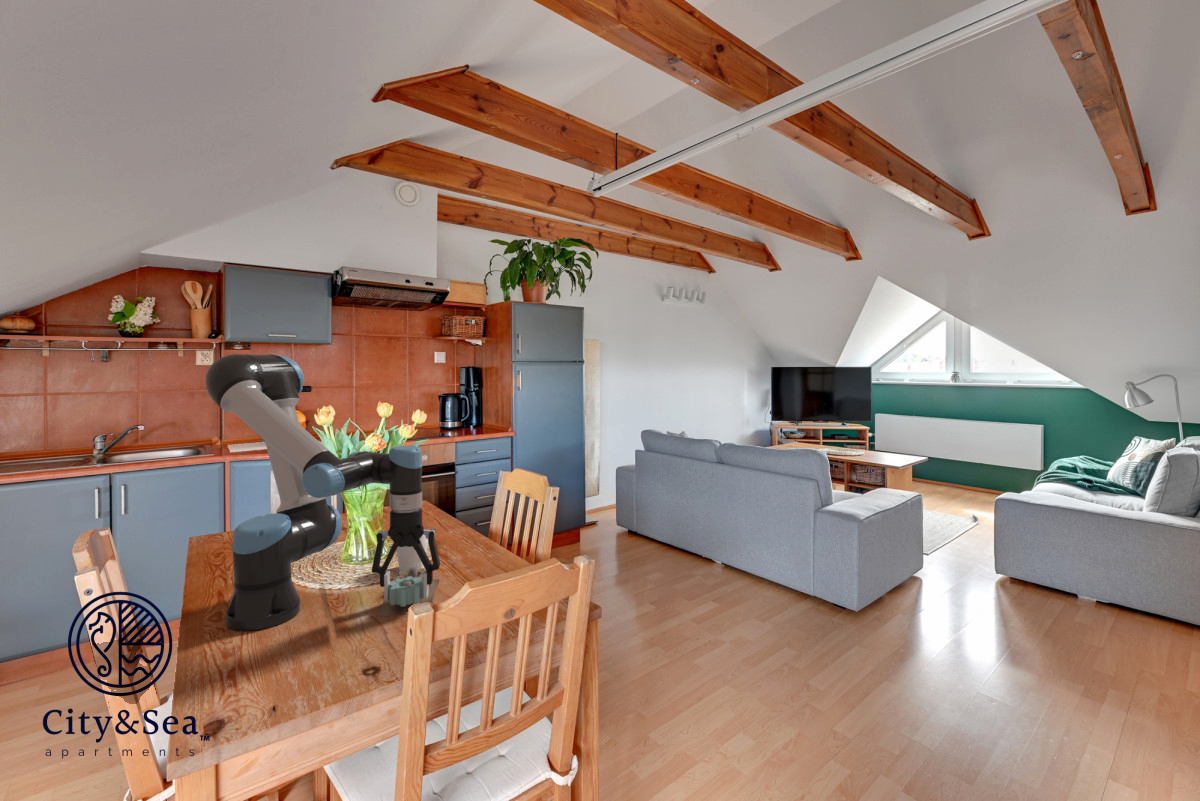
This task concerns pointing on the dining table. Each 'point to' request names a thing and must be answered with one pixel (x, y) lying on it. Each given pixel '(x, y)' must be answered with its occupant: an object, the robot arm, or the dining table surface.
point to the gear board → (405, 608)
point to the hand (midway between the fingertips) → (406, 597)
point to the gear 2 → (406, 591)
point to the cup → (410, 556)
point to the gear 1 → (406, 573)
